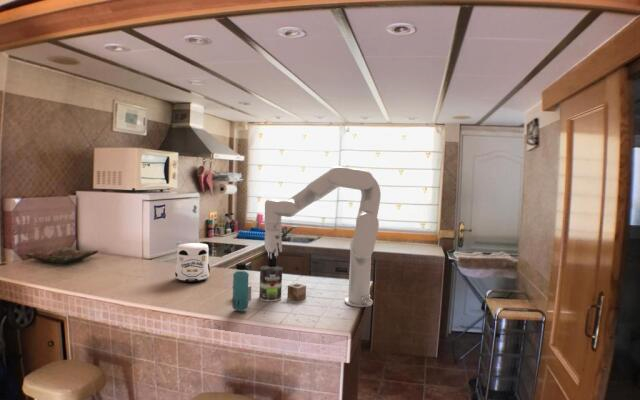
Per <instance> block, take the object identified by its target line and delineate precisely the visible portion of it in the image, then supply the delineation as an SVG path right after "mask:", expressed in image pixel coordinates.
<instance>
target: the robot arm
mask: <svg viewBox="0 0 640 400" xmlns="http://www.w3.org/2000/svg"><path fill="white" fill-rule="evenodd" d="M339 187H340V188H345V189H346V188H347V189H352V190H357V191H358V190H359V191H360V193H361V199H360V203H359V208H358V213H357V216H356V219H355V229H354V234H353V237H352V238H351V241H350V243H349V244H350V245H349V247H350V248H349V253H350V254H349V257H350V258H349V274H348V295H347V296H346V297H345V298H344V303H345V304H346V305H347V306H351V307H354V308H355V307H356V308H367V307H370V306H372V305H373V303H374V300H372V298H371V295H370V293H371V292H370V291H371V289H370V287H371V274H372V273H371V270H372V254H373V253H374V249H375V246H376V241H377V237H378V232H379V226H380V223H379V222H380V221H379V218H378V214H379V209H380V204H381V198H382V197H381V188H380V185H379V183H378V181H377V180H376V178H375V177H374V176H373V174H372V173H371V172H370V171H368V170H364V169H357V168H350V167H343V166H339V165H337V166H332V167H331V168H330V169H329V170H327V171H326V172H325V173H323V174H322V175H320V176H319V177H317V178H315V179H314V180H312V181H311V182H310V183H308V184H307V185H306V187H304V188H303V189H302V190H301V191H299V192H298V193H296V194H294V195H293V196H292V197H290V198H289V199H287V200H279V199H266V201H265V202H264V231H265V232H264V249H265V250H266V252H267V257H268V263H267V264H268V266H269V267H276V266H277V257H278V256H279V253H282V252H283V242H282V241H283V240H282V239H283V238H282V217H285V218H292V217H294V216H295V215H296V214H297V213H299V212H300V211H302V210H304V209H305V208H306V207H308V206H310V205H311V204H312V203H314V202H317V201H320V199H323V198H324V197H325V196H327V195H328V194H330V193H332V192H333V191H335V190H336V189H338V188H339Z"/></svg>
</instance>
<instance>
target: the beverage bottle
mask: <svg viewBox="0 0 640 400" xmlns="http://www.w3.org/2000/svg"><path fill="white" fill-rule="evenodd" d="M235 270H236V271H235V272H234V273H233V280H232V300H231V302H232V309H233V310H236V311H244V310H247V309H248V306H249V300H248V283H249V275H250V274H249V273H248V272H247V271H246V270H247V264H246V263H244V262H238V263H236V265H235Z"/></svg>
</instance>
